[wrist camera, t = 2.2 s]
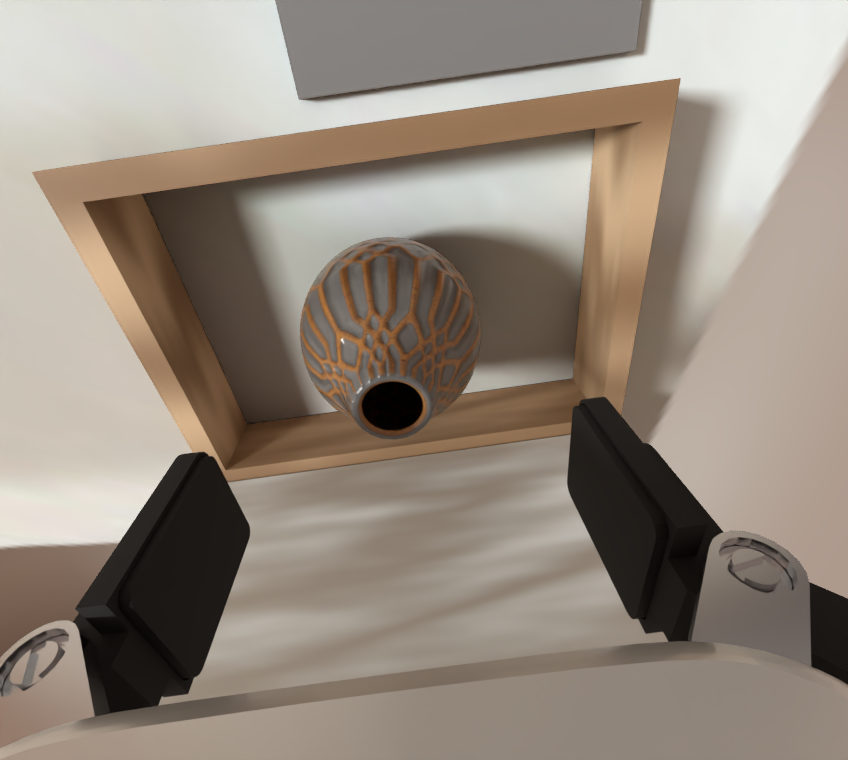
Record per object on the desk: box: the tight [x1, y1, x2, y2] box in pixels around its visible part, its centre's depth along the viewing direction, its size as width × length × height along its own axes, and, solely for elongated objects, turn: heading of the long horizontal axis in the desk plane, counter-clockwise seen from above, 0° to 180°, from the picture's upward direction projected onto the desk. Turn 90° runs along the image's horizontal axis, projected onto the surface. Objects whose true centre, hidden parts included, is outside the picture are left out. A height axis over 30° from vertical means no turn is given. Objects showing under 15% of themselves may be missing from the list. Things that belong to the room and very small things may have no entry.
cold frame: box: [32, 78, 681, 706], centre depth 13 cm, size 19×20×17 cm
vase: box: [300, 237, 481, 440], centre depth 16 cm, size 7×7×9 cm
